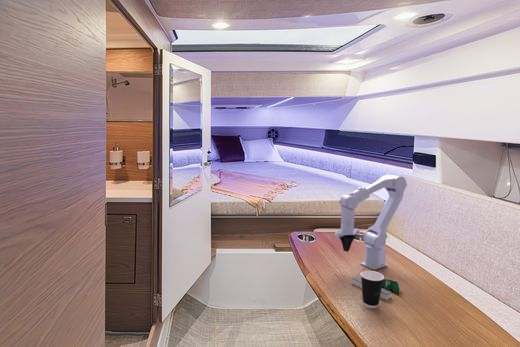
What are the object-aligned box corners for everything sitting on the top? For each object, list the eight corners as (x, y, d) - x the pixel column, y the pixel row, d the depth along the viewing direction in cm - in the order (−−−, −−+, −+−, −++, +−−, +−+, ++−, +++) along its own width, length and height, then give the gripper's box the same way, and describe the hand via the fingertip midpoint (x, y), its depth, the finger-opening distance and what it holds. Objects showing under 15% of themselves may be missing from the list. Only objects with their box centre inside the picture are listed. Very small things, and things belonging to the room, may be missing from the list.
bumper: (356, 281, 131) (357, 276, 131) (391, 298, 118) (391, 292, 117) (351, 283, 129) (352, 278, 129) (386, 300, 116) (386, 294, 116)
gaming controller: (399, 297, 122) (399, 282, 126) (399, 294, 119) (400, 278, 123) (373, 292, 126) (375, 278, 129) (373, 288, 123) (375, 274, 127)
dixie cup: (383, 312, 108) (385, 281, 107) (358, 308, 110) (360, 277, 109) (381, 301, 115) (383, 272, 114) (358, 297, 118) (360, 269, 117)
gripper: (343, 225, 135) (341, 256, 136) (365, 221, 143) (363, 250, 144) (331, 222, 141) (329, 251, 142) (353, 218, 149) (351, 246, 150)
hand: (346, 250), depth 144 cm, fingers closed
